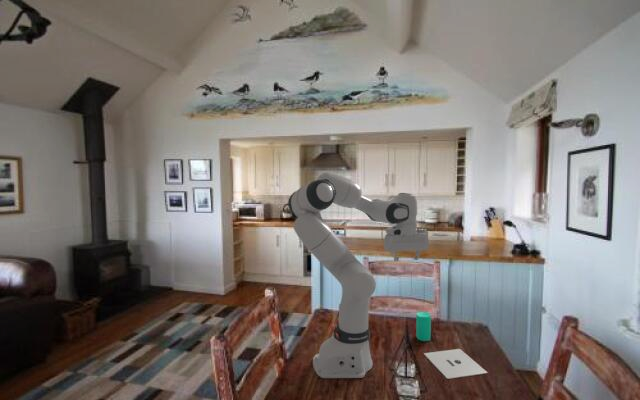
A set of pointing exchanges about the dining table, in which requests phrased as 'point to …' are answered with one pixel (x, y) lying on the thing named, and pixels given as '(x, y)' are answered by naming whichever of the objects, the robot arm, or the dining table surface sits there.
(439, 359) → the tile
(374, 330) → the dining table surface
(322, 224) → the robot arm
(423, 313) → the candle
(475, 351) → the dining table surface
